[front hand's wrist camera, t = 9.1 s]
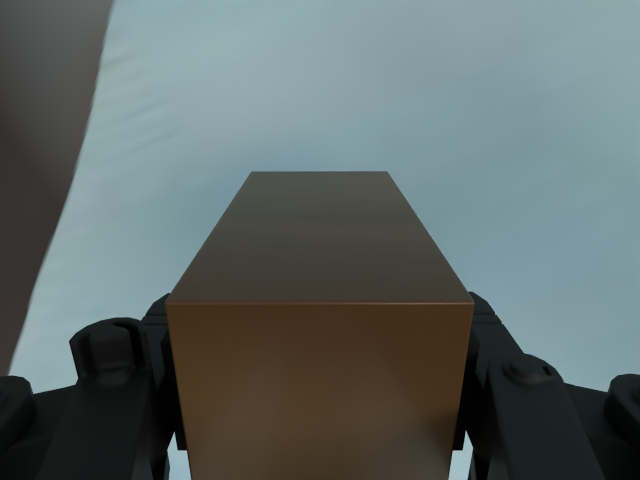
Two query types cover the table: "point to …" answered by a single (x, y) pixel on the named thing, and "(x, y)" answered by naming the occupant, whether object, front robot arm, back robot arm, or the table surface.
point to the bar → (319, 336)
